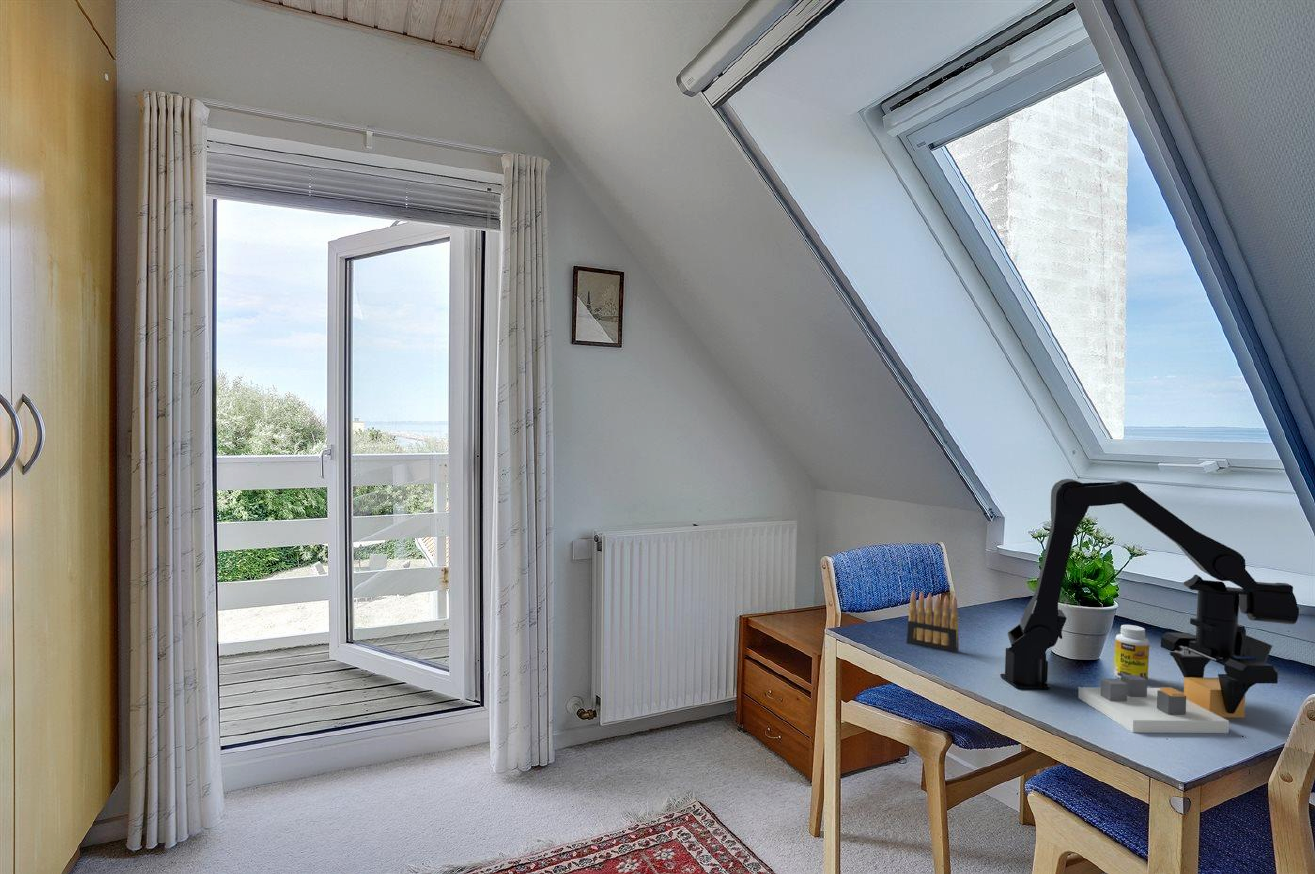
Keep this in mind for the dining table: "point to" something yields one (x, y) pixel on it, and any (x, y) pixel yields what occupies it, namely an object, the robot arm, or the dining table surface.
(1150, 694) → the board
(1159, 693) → the block
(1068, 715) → the dining table surface
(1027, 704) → the dining table surface
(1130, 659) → the supplement bottle
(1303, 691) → the dining table surface
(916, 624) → the ammunition clip
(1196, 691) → the orange block
